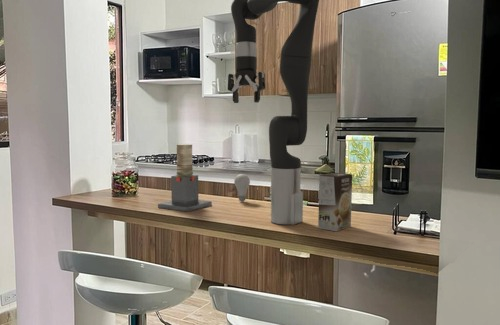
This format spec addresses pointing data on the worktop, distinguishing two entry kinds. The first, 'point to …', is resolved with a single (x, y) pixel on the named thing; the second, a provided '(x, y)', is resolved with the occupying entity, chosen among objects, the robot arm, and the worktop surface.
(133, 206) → the worktop surface
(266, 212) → the worktop surface
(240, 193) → the lightbulb
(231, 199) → the worktop surface
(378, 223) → the worktop surface
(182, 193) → the stand
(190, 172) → the column
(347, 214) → the coffee box
